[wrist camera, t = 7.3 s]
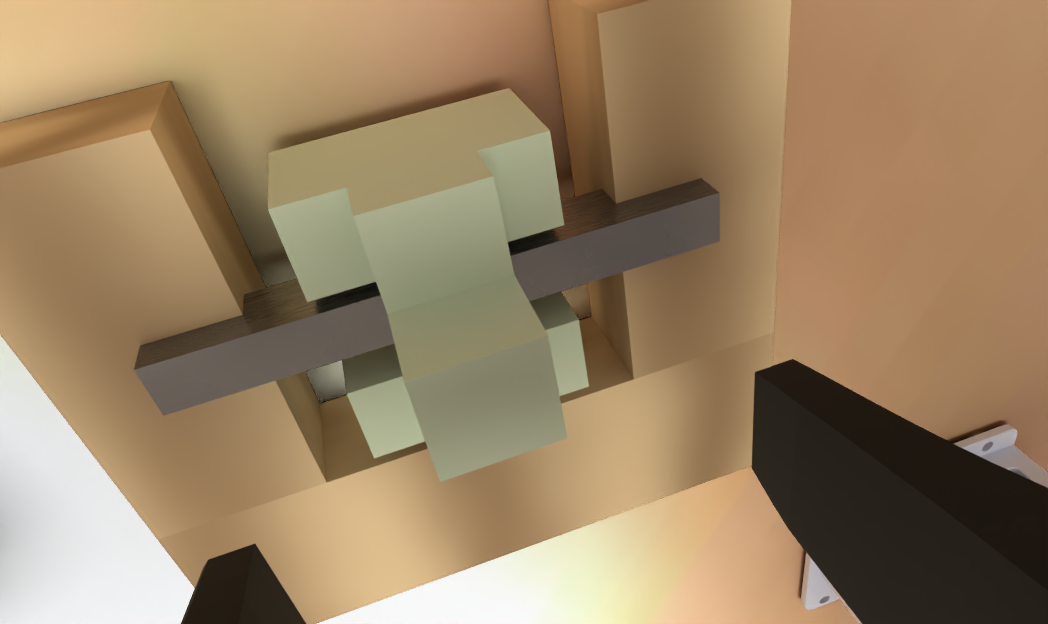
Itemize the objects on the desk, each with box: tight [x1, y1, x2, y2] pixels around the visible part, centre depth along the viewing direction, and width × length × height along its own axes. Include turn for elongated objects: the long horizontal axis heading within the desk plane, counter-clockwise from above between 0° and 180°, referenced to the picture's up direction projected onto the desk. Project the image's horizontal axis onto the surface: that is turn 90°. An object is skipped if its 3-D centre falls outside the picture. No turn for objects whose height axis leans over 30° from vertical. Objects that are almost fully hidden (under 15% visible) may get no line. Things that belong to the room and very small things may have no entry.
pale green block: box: [268, 88, 589, 482], centre depth 14 cm, size 5×6×6 cm
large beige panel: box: [0, 0, 791, 624], centre depth 17 cm, size 16×14×4 cm
